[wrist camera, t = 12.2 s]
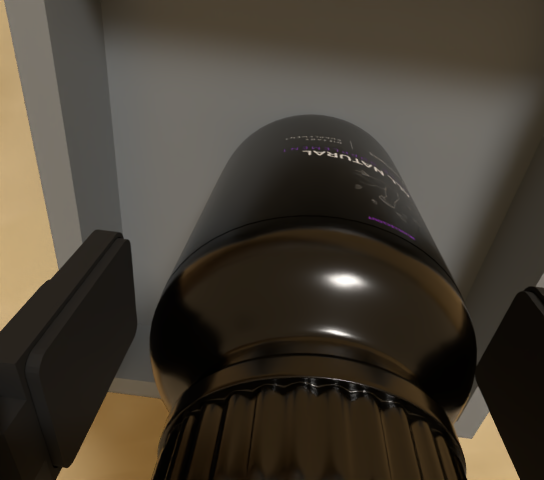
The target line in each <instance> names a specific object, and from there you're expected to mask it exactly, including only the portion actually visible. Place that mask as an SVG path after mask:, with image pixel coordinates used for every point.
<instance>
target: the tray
mask: <svg viewBox="0 0 544 480" xmlns="http://www.w3.org/2000/svg"><path fill="white" fill-rule="evenodd" d="M4 2H5V7H6V12H7V17H8V22H9V27H10V32H11V37H12V42H13V46H14V51H15V56H16V61H17V66H18V71H19V76H20V81H21V86H22V91H23V96H24V101H25V106H26V110H27V115H28V120H29V125H30V130H31V135H32V140H33V145H34V150H35V155H36V160H37V165H38V170H39V174H40V179H41V184H42V189H43V194H44V199H45V204H46V209H47V214H48V219H49V224H50V229H51V234H52V238H53V243H54V248H55V253H56V258H57V263H58V268H59V270H60V268H61V267H62V266H63V265H64V264H65V263H66V262H67V260H68V259H69V258H70V257H71V256H72V255H73V254H74V253H75V251H76V250H77V249H78V248H79V247H80V246H81V245H82V244H83V242H84V241H85V240H86V239H87V238H88V237H89V236H90V234H91V233H92V232H93V231H94V230H97V229H99V230H107V231H114V232H121V233H122V235H123V237H124V239H128V240H129V241H130V243H131V253H132V265H133V277H134V289H135V300H136V312H137V330H136V334H135V337H134V339H133V341H132V343H131V345H130V347H129V349H128V351H127V353H126V355H125V357H124V359H123V361H122V364H121V366H120V368H119V370H118V372H117V374H116V376H115V378H114V380H113V382H112V384H111V386H110V388H109V390H108V392H113V393H121V394H129V395H137V396H144V397H152V398H160V399H161V396H160V394H159V391H158V389H157V386H156V383H155V380H154V376H153V372H152V368H151V361H150V353H149V337H150V330H151V323H152V319H153V316H154V312H155V309H156V307H157V304H158V302H159V300H160V297H161V294H162V292H163V290H164V288H165V286H166V283H167V281H168V279H169V277H170V275H171V273H172V271H173V269H174V267H175V265H176V263H177V261H178V259H179V257H180V255H181V253H182V251H183V249H184V247H185V245H186V243H187V241H188V239H189V237H190V235H191V233H192V231H193V229H194V227H195V225H196V223H197V221H198V219H199V217H200V215H201V213H202V211H203V209H204V207H205V205H206V203H207V201H208V199H209V197H210V195H211V193H212V191H213V189H214V187H215V185H216V183H217V181H218V179H219V177H220V175H221V173H222V171H223V169H224V167H225V166H226V164H227V162H228V160H229V159H230V157H231V156H232V154H233V153H234V152H235V150H236V149H237V148H238V147H239V145H240V144H241V143H242V142H243V141H244V140H245V139H246V138H248V137H249V136H250V135H251V134H252V133H254V132H255V131H257V130H258V129H260V128H262V127H263V126H265V125H267V124H269V123H272V122H274V121H276V120H279V119H283V118H286V117H291V116H296V115H308V114H315V115H325V116H331V117H335V118H339V119H342V120H345V121H347V122H350V123H352V124H354V125H356V126H358V127H360V128H361V129H363V130H364V131H366V132H367V133H369V134H370V135H371V136H372V137H373V138H374V139H376V140H377V141H378V143H379V144H380V145H381V146H382V147H383V148H384V149H385V151H386V152H387V153H388V155H389V156H390V158H391V160H392V161H393V163H394V165H395V166H396V168H397V170H398V172H399V173H400V175H401V177H402V179H403V181H404V183H405V185H406V187H407V189H408V191H409V193H410V195H411V197H412V199H413V201H414V203H415V205H416V207H417V209H418V210H419V212H420V214H421V216H422V218H423V220H424V222H425V224H426V226H427V228H428V230H429V232H430V234H431V236H432V238H433V240H434V242H435V244H436V246H437V248H438V249H439V251H440V253H441V255H442V257H443V259H444V261H445V263H446V265H447V267H448V269H449V271H450V273H451V275H452V277H453V279H454V281H455V283H456V285H457V287H458V289H459V291H460V293H461V295H462V297H463V300H464V302H465V304H466V307H467V309H468V312H469V314H470V317H471V319H472V323H473V326H474V330H475V335H476V344H477V364H478V362H479V361H480V359H481V357H482V355H483V353H484V352H485V350H486V348H487V346H488V344H489V343H490V341H491V339H492V337H493V335H494V334H495V332H496V330H497V328H498V326H499V325H500V323H501V321H502V319H503V317H504V316H505V314H506V312H507V310H508V308H509V307H510V305H511V303H512V301H513V299H514V298H515V296H516V294H517V293H518V292H520V291H524V289H526V288H527V287H530V286H535V287H542V288H544V0H4ZM476 366H477V365H476ZM488 413H489V409H488V407H487V405H486V403H485V400H484V398H483V396H482V394H481V391H480V389H479V387H478V385H477V382H476V379H475V377H474V382H473V386H472V389H471V392H470V395H469V398H468V400H467V402H466V404H465V406H464V408H463V410H462V412H461V414H460V416H459V417H458V419H457V420H456V422H455V423H454V425H453V426H454V428H455V431H456V434H457V437H462V438H470V439H472V438H473V436H474V435H475V433H476V431H477V430H478V428H479V427H480V425H481V424H482V422H483V420H484V419H485V417H486V416H487V414H488Z"/></svg>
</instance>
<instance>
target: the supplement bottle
mask: <svg viewBox="0 0 544 480" xmlns="http://www.w3.org/2000/svg"><path fill="white" fill-rule="evenodd" d="M149 353H150V361H151V368H152V372H153V376H154V380H155V383H156V386H157V389H158V391H159V394H160V396H161V399H162V400H163V402H164V404H165V406H166V408H167V409H168V411H169V415H168V418H167V421H166V423H165V426H164V429H163V432H162V435H161V438H160V442H159V446H158V460H157V463H156V466H155V469H154V472H153V475H152V478H151V480H467V478H466V463H465V458H464V455H463V451H462V448H461V445H460V442H459V440H458V437H457V434H456V431H455V428H454V426H453V425H454V423H455V422H456V420H457V419H458V417H459V416H460V414H461V412H462V410H463V408H464V406H465V404H466V402H467V400H468V398H469V395H470V392H471V389H472V386H473V382H474V377H475V371H476V365H477V344H476V335H475V330H474V326H473V323H472V319H471V317H470V314H469V312H468V309H467V307H466V304H465V302H464V300H463V297H462V295H461V293H460V291H459V289H458V287H457V285H456V283H455V281H454V279H453V277H452V275H451V273H450V271H449V269H448V267H447V265H446V263H445V261H444V259H443V257H442V255H441V253H440V251H439V249H438V248H437V246H436V244H435V242H434V240H433V238H432V236H431V234H430V232H429V230H428V228H427V226H426V224H425V222H424V220H423V218H422V216H421V214H420V212H419V210H418V209H417V207H416V205H415V203H414V201H413V199H412V197H411V195H410V193H409V191H408V189H407V187H406V185H405V183H404V181H403V179H402V177H401V175H400V173H399V172H398V170H397V168H396V166H395V165H394V163H393V161H392V160H391V158H390V156H389V155H388V153H387V152H386V151H385V149H384V148H383V147H382V146H381V145H380V144H379V143H378V141H377V140H376V139H374V138H373V137H372V136H371V135H370V134H369V133H367V132H366V131H364V130H363V129H361V128H360V127H358V126H356V125H354V124H352V123H350V122H347V121H345V120H342V119H339V118H335V117H331V116H325V115H315V114H308V115H296V116H291V117H286V118H283V119H279V120H276V121H274V122H272V123H269V124H267V125H265V126H263V127H262V128H260V129H258V130H257V131H255V132H254V133H252V134H251V135H250V136H249V137H248V138H246V139H245V140H244V141H243V142H242V143H241V144H240V145H239V147H238V148H237V149H236V150H235V152H234V153H233V154H232V156H231V157H230V159H229V160H228V162H227V164H226V166H225V167H224V169H223V171H222V173H221V175H220V177H219V179H218V181H217V183H216V185H215V187H214V189H213V191H212V193H211V195H210V197H209V199H208V201H207V203H206V205H205V207H204V209H203V211H202V213H201V215H200V217H199V219H198V221H197V223H196V225H195V227H194V229H193V231H192V233H191V235H190V237H189V239H188V241H187V243H186V245H185V247H184V249H183V251H182V253H181V255H180V257H179V259H178V261H177V263H176V265H175V267H174V269H173V271H172V273H171V275H170V277H169V279H168V281H167V283H166V286H165V288H164V290H163V292H162V294H161V297H160V300H159V302H158V304H157V307H156V309H155V312H154V316H153V319H152V323H151V330H150V337H149Z"/></svg>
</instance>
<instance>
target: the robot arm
mask: <svg viewBox="0 0 544 480" xmlns="http://www.w3.org/2000/svg"><path fill="white" fill-rule="evenodd" d="M136 330H137V312H136V300H135V289H134V277H133V265H132V253H131V243H130V241H129V240H128V239H124V237H123V235H122V233H121V232H114V231H107V230H99V229H97V230H94V231H93V232H92V233H91V234H90V236H89V237H88V238H87V239H86V240H85V241H84V242H83V244H82V245H81V246H80V247H79V248H78V249H77V250H76V251H75V253H74V254H73V255H72V256H71V257H70V258H69V259H68V260H67V262H66V263H65V264H64V265H63V266H62V267H61V268H60V270H59V271H58V272H57V273H56V274H55V275H54V276H53V277H52V279H51V280H47V281H46V282H45V283H44V284H43V285H42V286H41V287H40V288H39V289H38V290H37V291H36V292H35V294H34V295H33V296H32V297H31V298H30V299H29V300H28V301H27V302H26V304H25V305H24V306H23V307H22V308H21V309H20V310H19V311H18V313H17V314H16V315H15V316H14V317H13V318H12V319H11V320H10V321H9V323H8V324H7V325H6V326H5V327H4V328H3V329H2V330H1V331H0V480H56V478H57V476H58V474H59V473H60V471H61V469H62V467H64V468H68V467H69V466H70V465H71V464H72V463H73V461H74V459H75V457H76V455H77V453H78V451H79V449H80V447H81V445H82V443H83V441H84V439H85V437H86V435H87V433H88V431H89V429H90V427H91V425H92V423H93V421H94V419H95V416H96V414H97V412H98V410H99V408H100V406H101V404H102V402H103V400H104V398H105V396H106V394H107V392H108V390H109V388H110V386H111V384H112V382H113V380H114V378H115V376H116V374H117V372H118V370H119V368H120V366H121V364H122V361H123V359H124V357H125V355H126V353H127V351H128V349H129V347H130V345H131V343H132V341H133V339H134V337H135V334H136ZM475 379H476V382H477V385H478V387H479V389H480V391H481V394H482V396H483V398H484V400H485V403H486V405H487V407H488V409H489V411H490V414H491V416H492V418H493V420H494V423H495V425H496V427H497V429H498V431H499V434H500V436H501V438H502V440H503V443H504V445H505V447H506V449H507V451H508V454H509V456H510V458H511V460H512V463H513V465H514V467H515V469H516V471H517V474H518V476H519V478H520V480H544V288H542V287H535V286H530V287H527V288H526V289H524V291H520V292H518V293H517V294H516V296H515V298H514V299H513V301H512V303H511V305H510V307H509V308H508V310H507V312H506V314H505V316H504V317H503V319H502V321H501V323H500V325H499V326H498V328H497V330H496V332H495V334H494V335H493V337H492V339H491V341H490V343H489V344H488V346H487V348H486V350H485V352H484V353H483V355H482V357H481V359H480V361H479V362H478V364H477V366H476V371H475Z"/></svg>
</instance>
